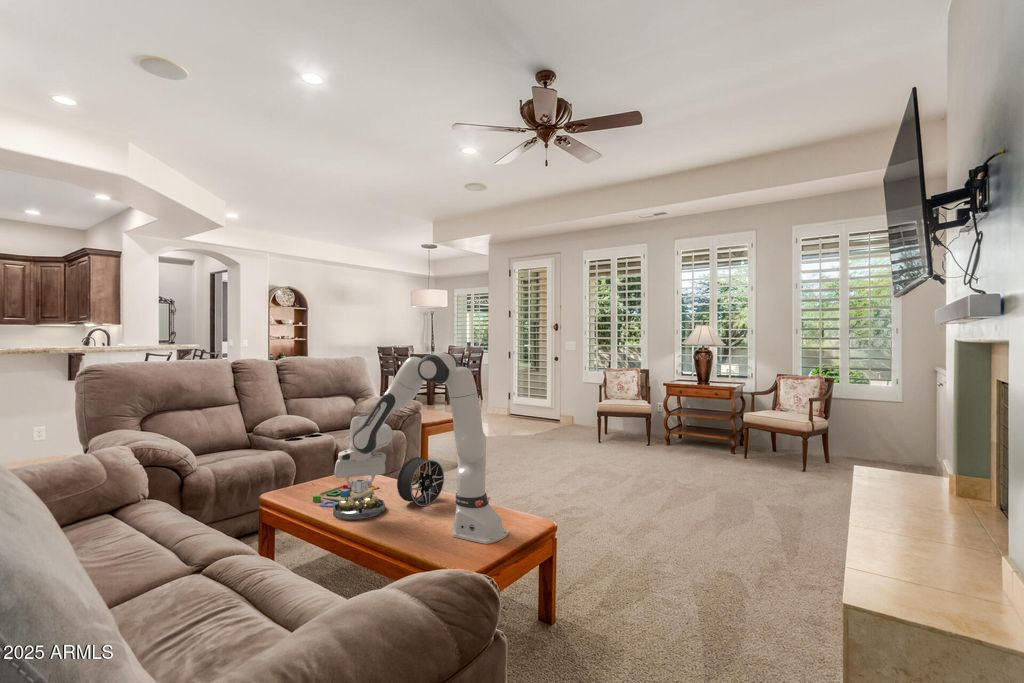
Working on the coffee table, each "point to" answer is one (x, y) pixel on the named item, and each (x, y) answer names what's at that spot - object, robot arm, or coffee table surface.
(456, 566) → the coffee table surface
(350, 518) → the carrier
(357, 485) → the planet gear
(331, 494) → the shape sorter
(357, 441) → the robot arm
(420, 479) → the wheel rim
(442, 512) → the coffee table surface
